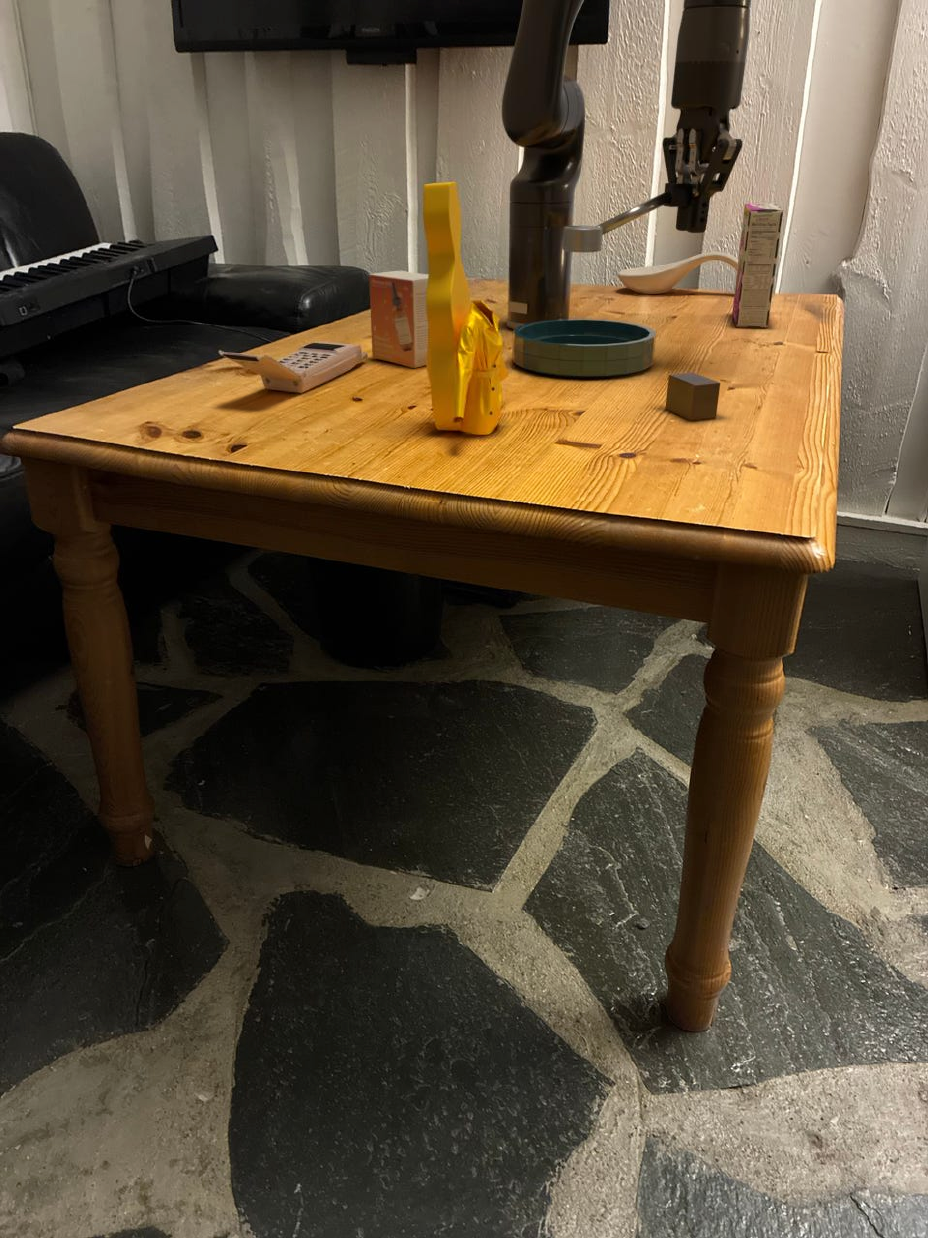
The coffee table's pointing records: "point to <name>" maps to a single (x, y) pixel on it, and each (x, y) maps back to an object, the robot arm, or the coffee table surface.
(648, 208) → the ladle
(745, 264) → the candy bar box
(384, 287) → the small box
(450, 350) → the figure statuette
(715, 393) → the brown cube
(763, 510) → the coffee table surface
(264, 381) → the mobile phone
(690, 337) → the coffee table surface
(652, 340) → the bowl
